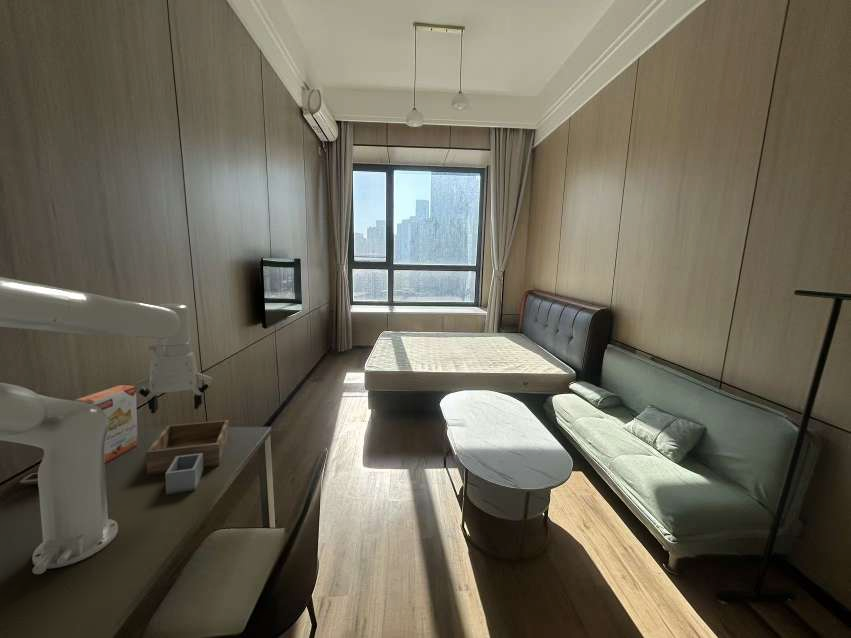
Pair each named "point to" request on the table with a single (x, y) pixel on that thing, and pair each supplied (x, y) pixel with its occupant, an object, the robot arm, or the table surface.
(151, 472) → the big crate
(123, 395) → the cracker box
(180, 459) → the small crate
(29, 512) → the table surface
